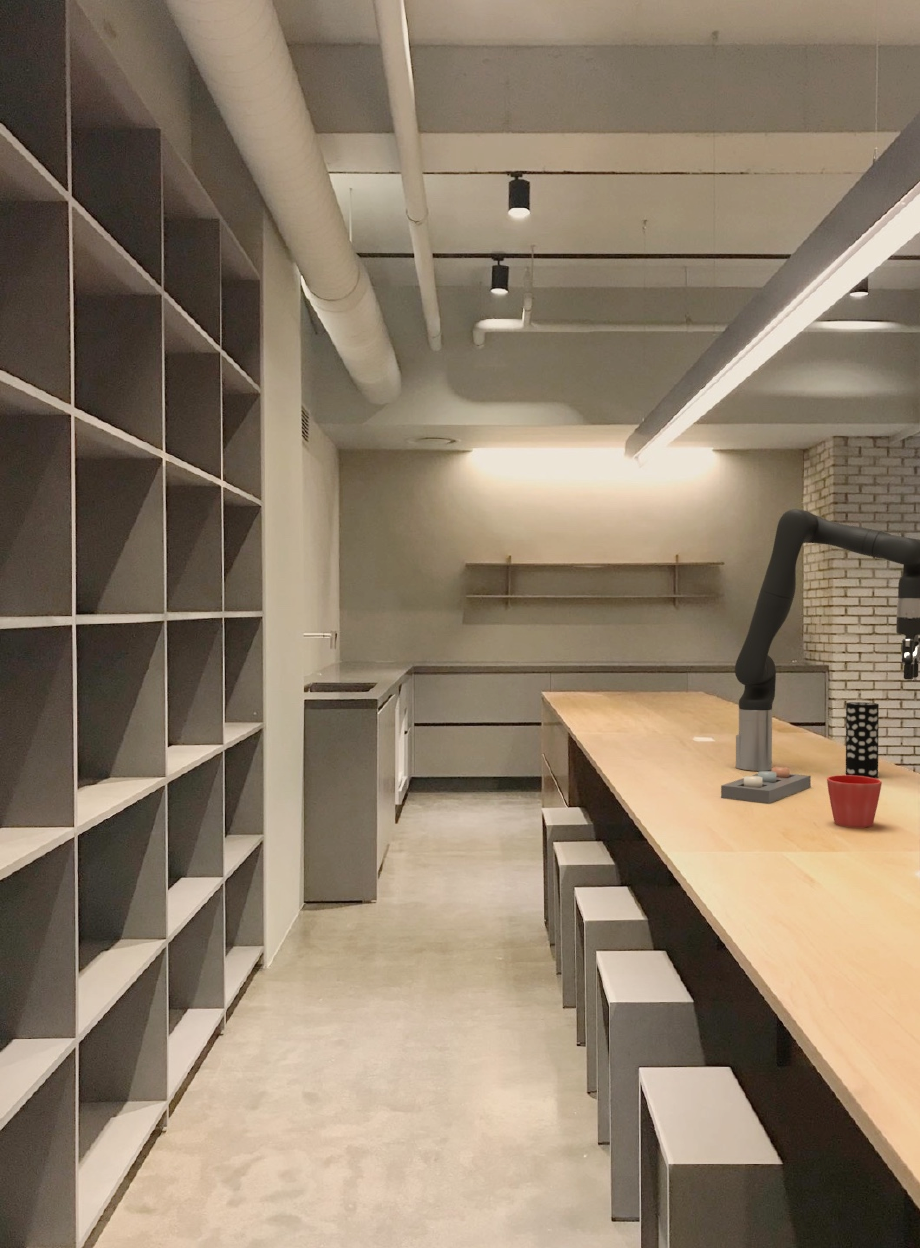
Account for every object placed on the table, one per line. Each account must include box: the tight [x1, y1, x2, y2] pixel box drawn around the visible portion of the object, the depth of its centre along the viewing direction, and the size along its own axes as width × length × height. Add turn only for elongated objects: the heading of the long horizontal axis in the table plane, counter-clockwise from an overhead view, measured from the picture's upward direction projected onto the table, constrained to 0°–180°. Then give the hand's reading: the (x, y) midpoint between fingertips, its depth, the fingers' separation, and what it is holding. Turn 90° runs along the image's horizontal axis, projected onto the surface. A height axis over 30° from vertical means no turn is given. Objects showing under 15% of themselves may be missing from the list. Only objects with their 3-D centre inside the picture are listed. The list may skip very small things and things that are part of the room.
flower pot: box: [826, 774, 883, 829], centre depth 220 cm, size 11×11×10 cm
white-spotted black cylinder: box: [845, 701, 880, 779], centre depth 282 cm, size 8×8×20 cm
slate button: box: [757, 770, 776, 783], centre depth 258 cm, size 4×4×3 cm
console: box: [720, 773, 812, 804], centre depth 258 cm, size 12×28×3 cm, turn 142°
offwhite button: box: [743, 775, 762, 788], centre depth 250 cm, size 4×4×3 cm
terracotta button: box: [771, 766, 791, 778], centre depth 265 cm, size 4×4×3 cm
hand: (910, 678), depth 267 cm, fingers open, 8 cm apart
